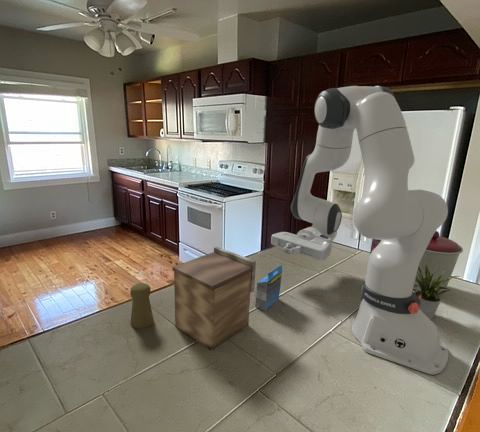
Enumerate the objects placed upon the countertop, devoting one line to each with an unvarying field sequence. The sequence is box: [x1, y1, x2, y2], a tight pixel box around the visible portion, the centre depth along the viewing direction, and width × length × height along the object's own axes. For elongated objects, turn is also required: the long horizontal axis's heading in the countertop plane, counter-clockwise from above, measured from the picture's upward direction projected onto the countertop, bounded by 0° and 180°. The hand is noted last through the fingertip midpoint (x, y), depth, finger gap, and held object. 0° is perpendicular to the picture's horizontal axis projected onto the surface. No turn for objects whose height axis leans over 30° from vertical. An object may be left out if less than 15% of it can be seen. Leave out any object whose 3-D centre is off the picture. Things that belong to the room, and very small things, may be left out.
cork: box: [129, 282, 154, 330], centre depth 84 cm, size 6×6×11 cm
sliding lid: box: [172, 246, 257, 293], centre depth 81 cm, size 14×16×9 cm
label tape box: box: [254, 263, 283, 312], centre depth 95 cm, size 9×4×12 cm, turn 146°
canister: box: [413, 230, 464, 294], centre depth 109 cm, size 18×18×21 cm
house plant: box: [413, 263, 460, 320], centre depth 93 cm, size 14×14×16 cm
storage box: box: [173, 271, 251, 351], centre depth 83 cm, size 14×14×16 cm
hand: (286, 251), depth 100 cm, fingers closed
